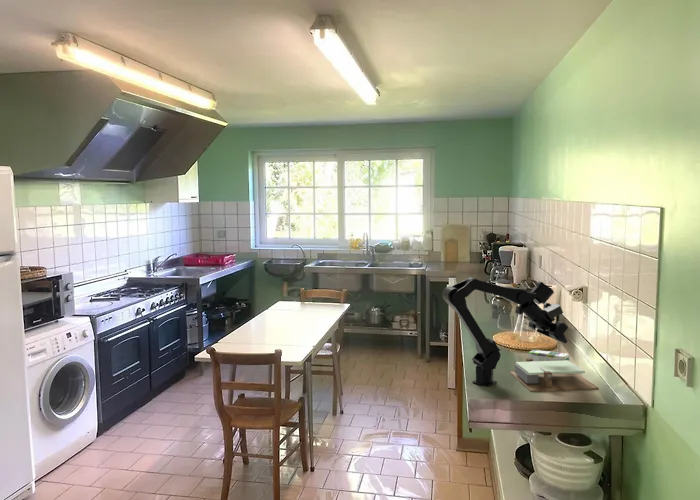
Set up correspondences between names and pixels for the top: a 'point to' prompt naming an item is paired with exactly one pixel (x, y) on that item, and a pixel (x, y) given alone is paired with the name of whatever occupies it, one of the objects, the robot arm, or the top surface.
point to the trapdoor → (544, 369)
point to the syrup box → (547, 356)
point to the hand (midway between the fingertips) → (561, 340)
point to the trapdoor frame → (556, 382)
